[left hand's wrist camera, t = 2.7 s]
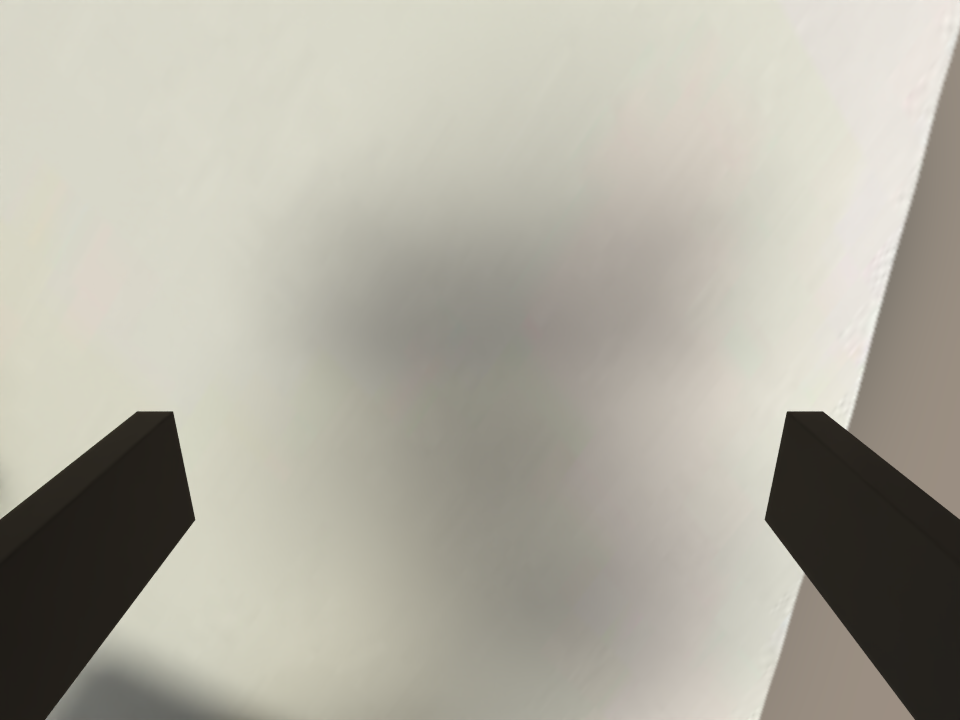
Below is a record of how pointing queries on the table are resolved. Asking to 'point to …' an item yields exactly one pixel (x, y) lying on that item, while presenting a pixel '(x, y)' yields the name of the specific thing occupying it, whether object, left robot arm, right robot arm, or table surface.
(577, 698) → the table surface
